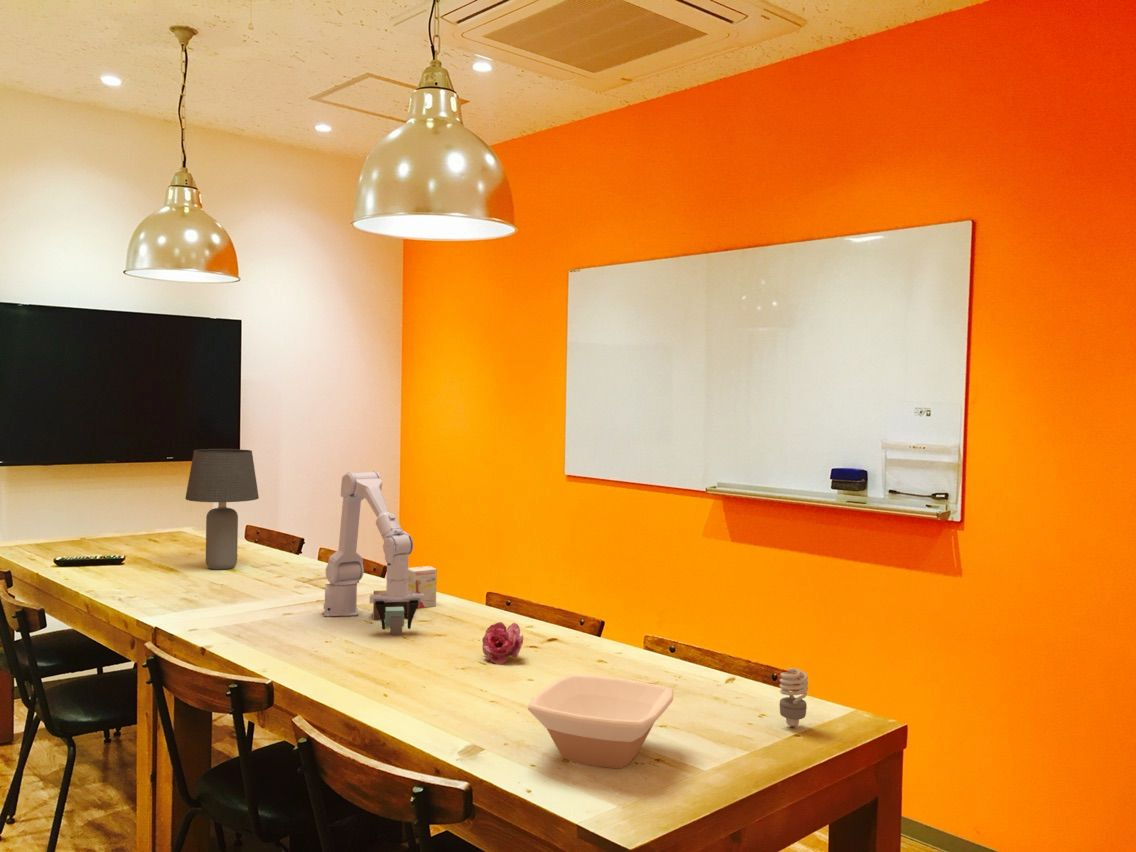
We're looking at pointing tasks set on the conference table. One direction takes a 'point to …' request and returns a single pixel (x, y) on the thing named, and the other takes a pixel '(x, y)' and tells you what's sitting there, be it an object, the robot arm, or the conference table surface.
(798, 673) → the light bulb
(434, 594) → the ink box
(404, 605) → the walnut cubby
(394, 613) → the block with rod
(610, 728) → the bowl
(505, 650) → the flower
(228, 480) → the lamp
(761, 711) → the conference table surface
